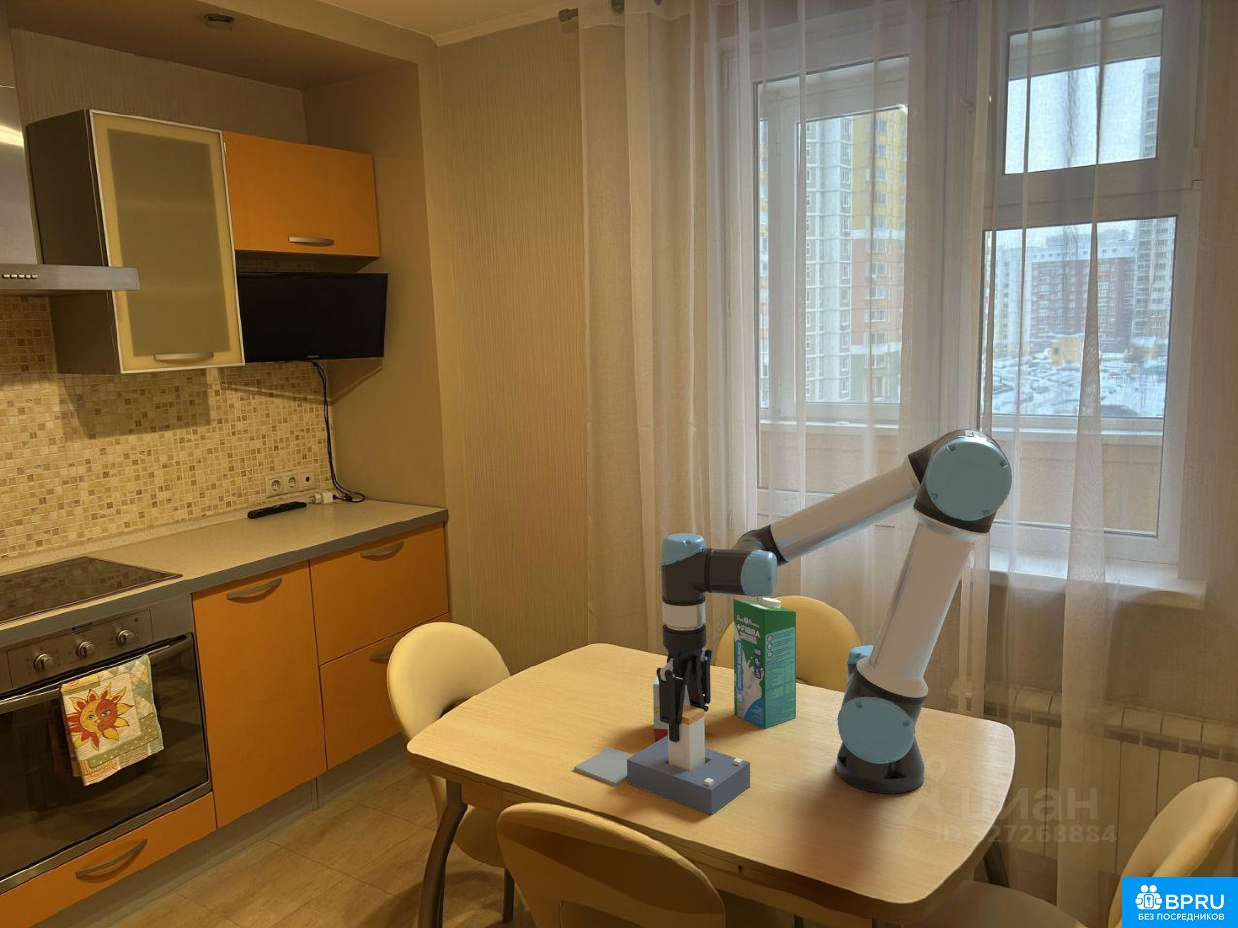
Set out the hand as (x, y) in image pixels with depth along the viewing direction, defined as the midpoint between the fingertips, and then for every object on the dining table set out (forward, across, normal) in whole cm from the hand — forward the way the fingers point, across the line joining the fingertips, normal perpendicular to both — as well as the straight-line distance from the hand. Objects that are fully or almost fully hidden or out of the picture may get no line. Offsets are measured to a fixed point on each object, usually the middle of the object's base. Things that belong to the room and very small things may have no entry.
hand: (686, 751), depth 161 cm
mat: (+6, +3, -15) cm, 16 cm away
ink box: (+7, -16, -14) cm, 22 cm away
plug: (+6, 0, 0) cm, 6 cm away
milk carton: (+7, -33, -4) cm, 34 cm away
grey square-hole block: (+6, 0, 0) cm, 6 cm away
